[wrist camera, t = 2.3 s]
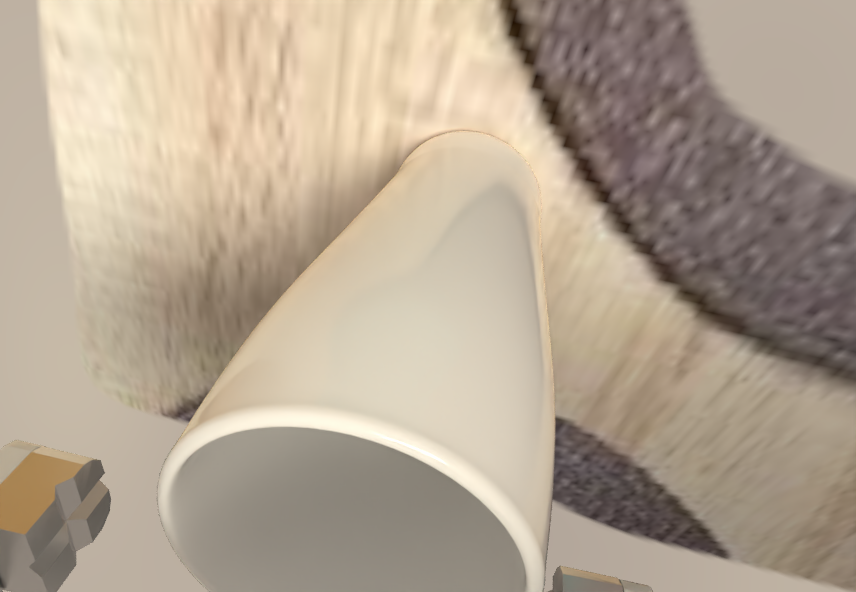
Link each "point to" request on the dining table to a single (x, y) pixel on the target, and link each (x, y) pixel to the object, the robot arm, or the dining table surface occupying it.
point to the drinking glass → (387, 402)
